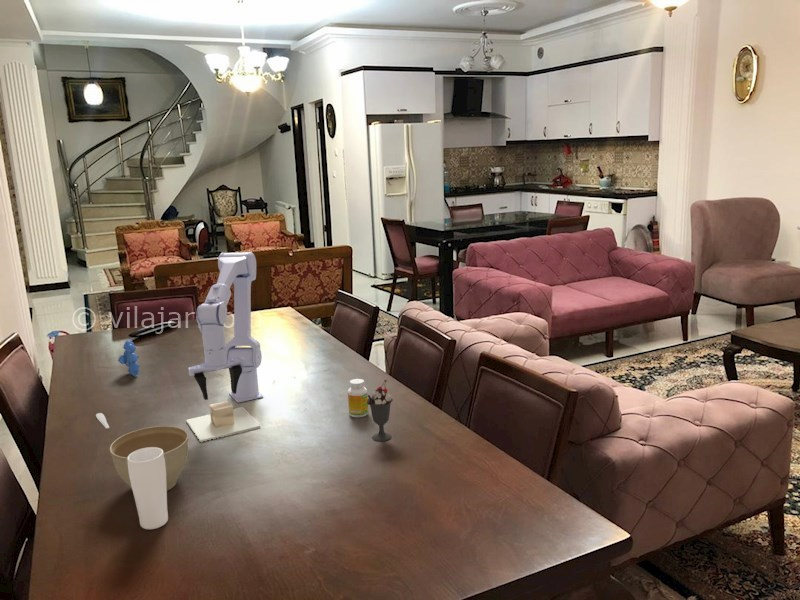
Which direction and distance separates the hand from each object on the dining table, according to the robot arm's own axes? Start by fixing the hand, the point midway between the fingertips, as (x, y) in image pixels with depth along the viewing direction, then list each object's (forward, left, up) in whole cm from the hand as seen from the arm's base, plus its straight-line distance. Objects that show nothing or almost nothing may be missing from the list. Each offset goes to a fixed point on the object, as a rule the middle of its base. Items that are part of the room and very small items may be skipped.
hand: (220, 395), depth 173 cm
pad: (0, 0, -8) cm, 8 cm away
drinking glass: (+41, -25, -9) cm, 49 cm away
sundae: (+32, +32, -9) cm, 46 cm away
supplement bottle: (+15, +34, -9) cm, 38 cm away
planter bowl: (+25, -22, -9) cm, 34 cm away
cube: (0, 0, -8) cm, 8 cm away
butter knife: (-16, -27, -9) cm, 33 cm away
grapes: (-61, -15, -9) cm, 63 cm away
